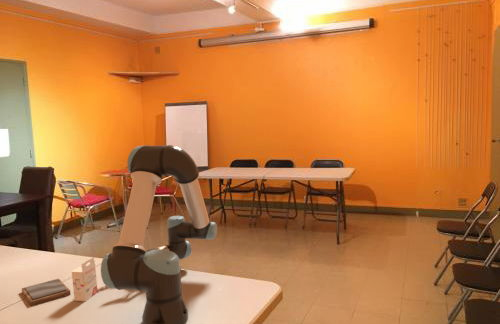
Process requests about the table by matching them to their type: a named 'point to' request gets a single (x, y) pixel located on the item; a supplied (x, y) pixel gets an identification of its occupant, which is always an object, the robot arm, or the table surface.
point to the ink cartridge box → (84, 281)
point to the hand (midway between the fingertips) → (109, 269)
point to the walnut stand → (45, 291)
